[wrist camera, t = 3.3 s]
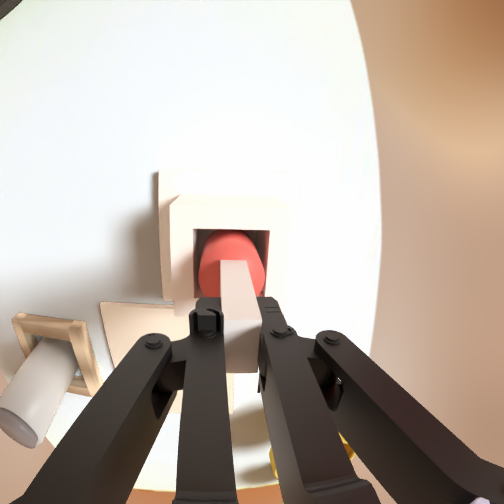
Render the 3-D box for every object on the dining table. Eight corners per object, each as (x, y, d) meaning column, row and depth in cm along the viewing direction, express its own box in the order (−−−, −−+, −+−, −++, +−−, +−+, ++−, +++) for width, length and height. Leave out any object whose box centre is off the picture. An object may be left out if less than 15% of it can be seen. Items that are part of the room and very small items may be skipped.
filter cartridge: (36, 329, 27) (-19, 403, 13) (73, 335, 27) (21, 421, 14) (50, 366, 28) (8, 440, 15) (86, 373, 29) (49, 457, 16)
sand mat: (102, 301, 26) (99, 305, 26) (235, 306, 28) (236, 310, 27) (128, 404, 31) (127, 408, 31) (232, 409, 33) (233, 414, 32)
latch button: (202, 226, 21) (198, 246, 16) (256, 227, 21) (267, 247, 17) (202, 275, 22) (199, 307, 18) (253, 276, 23) (262, 307, 18)
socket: (19, 312, 26) (11, 320, 24) (85, 321, 27) (78, 331, 25) (43, 375, 29) (38, 384, 27) (105, 388, 30) (101, 398, 28)
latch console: (161, 169, 23) (139, 174, 17) (297, 174, 25) (325, 180, 18) (164, 295, 27) (151, 336, 20) (286, 296, 28) (304, 336, 22)
